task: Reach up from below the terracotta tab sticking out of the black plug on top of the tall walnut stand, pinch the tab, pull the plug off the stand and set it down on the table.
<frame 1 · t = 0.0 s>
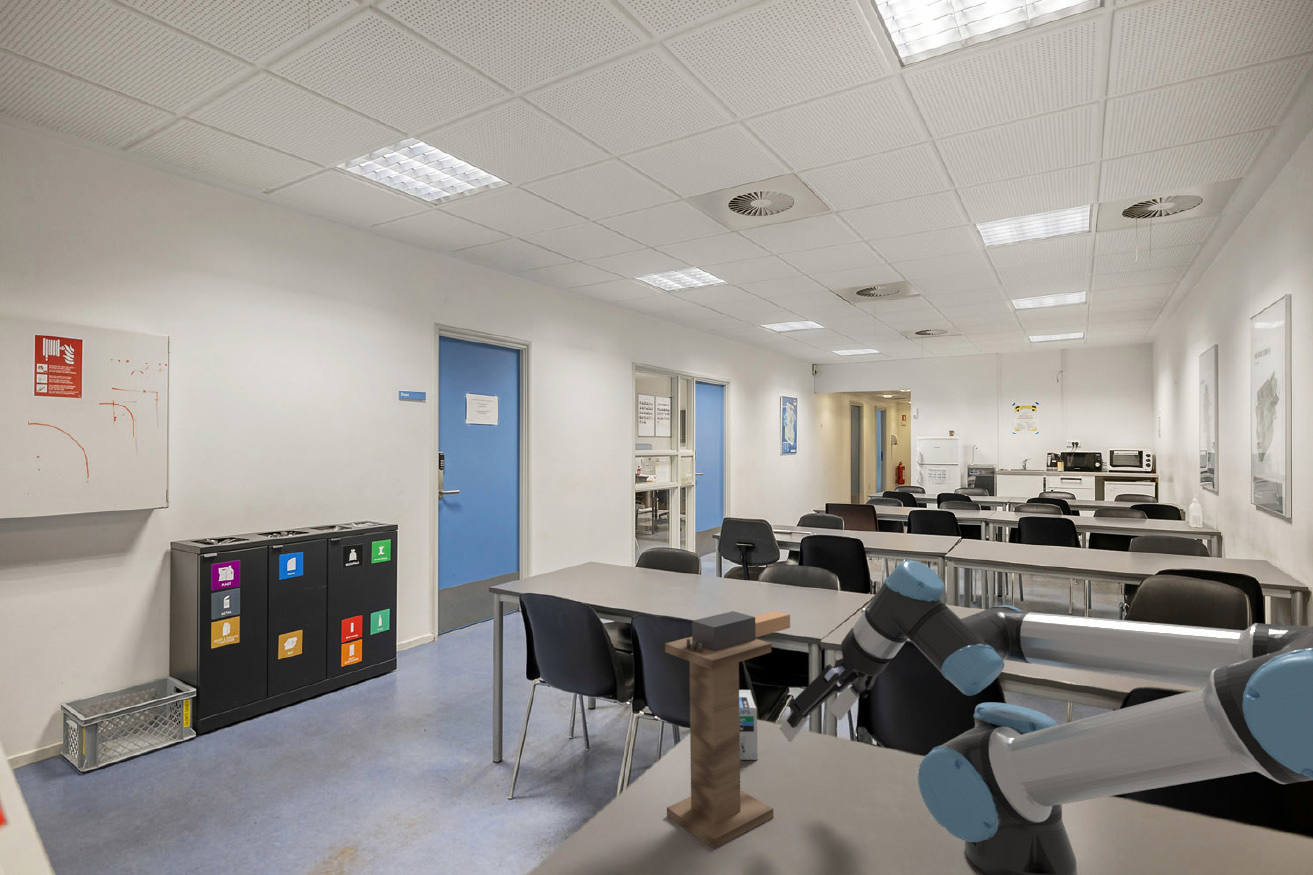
hand: (811, 723, 117), 15 cm above the table, tool tilted 35°, fingers open, 13 cm apart
stand: (720, 816, 115), on the table
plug: (724, 641, 117), point 30 cm above the table, touching stand
light bulb box: (739, 749, 141), on the table
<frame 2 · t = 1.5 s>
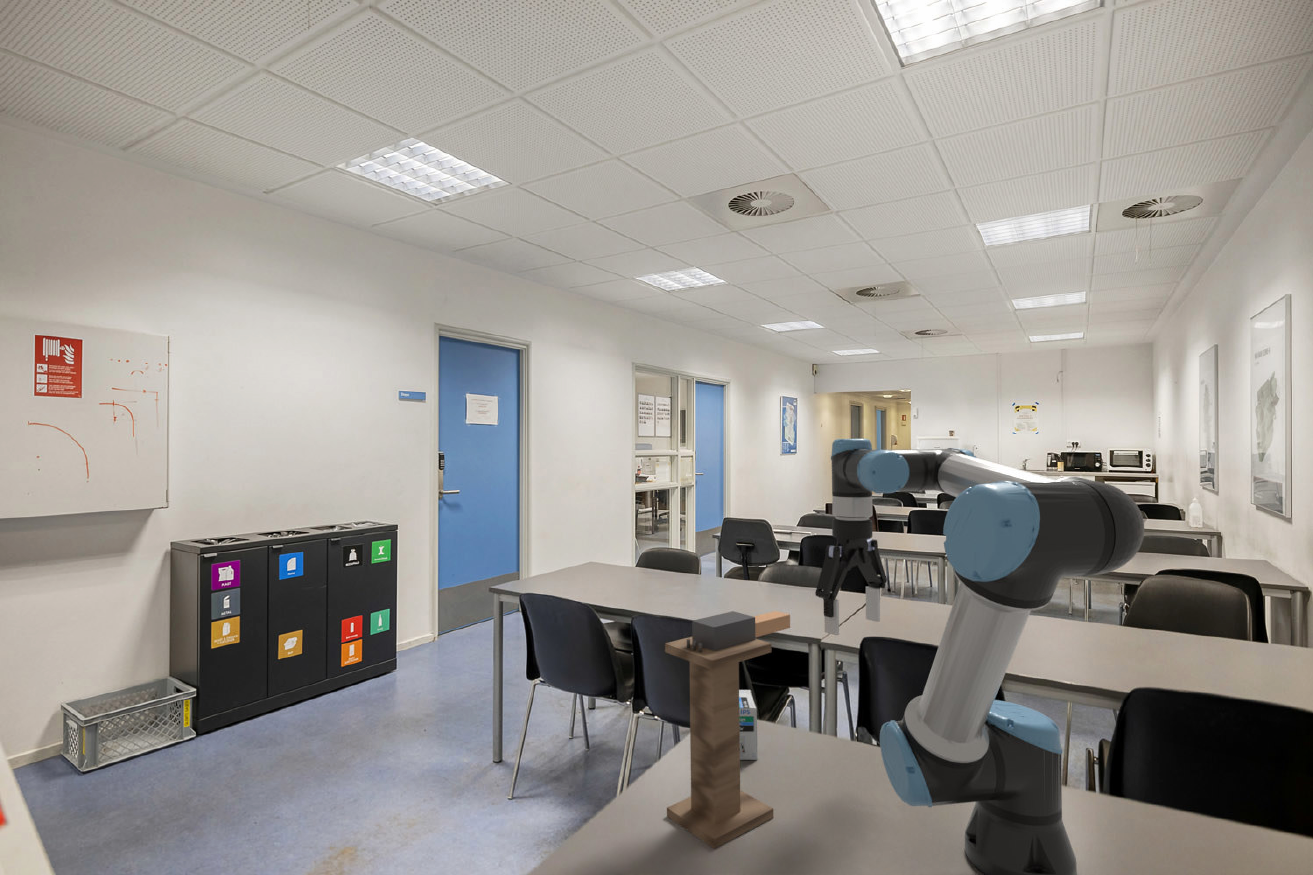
hand: (853, 626, 130), 29 cm above the table, tool pointing down, fingers open, 13 cm apart
nothing on the table moved.
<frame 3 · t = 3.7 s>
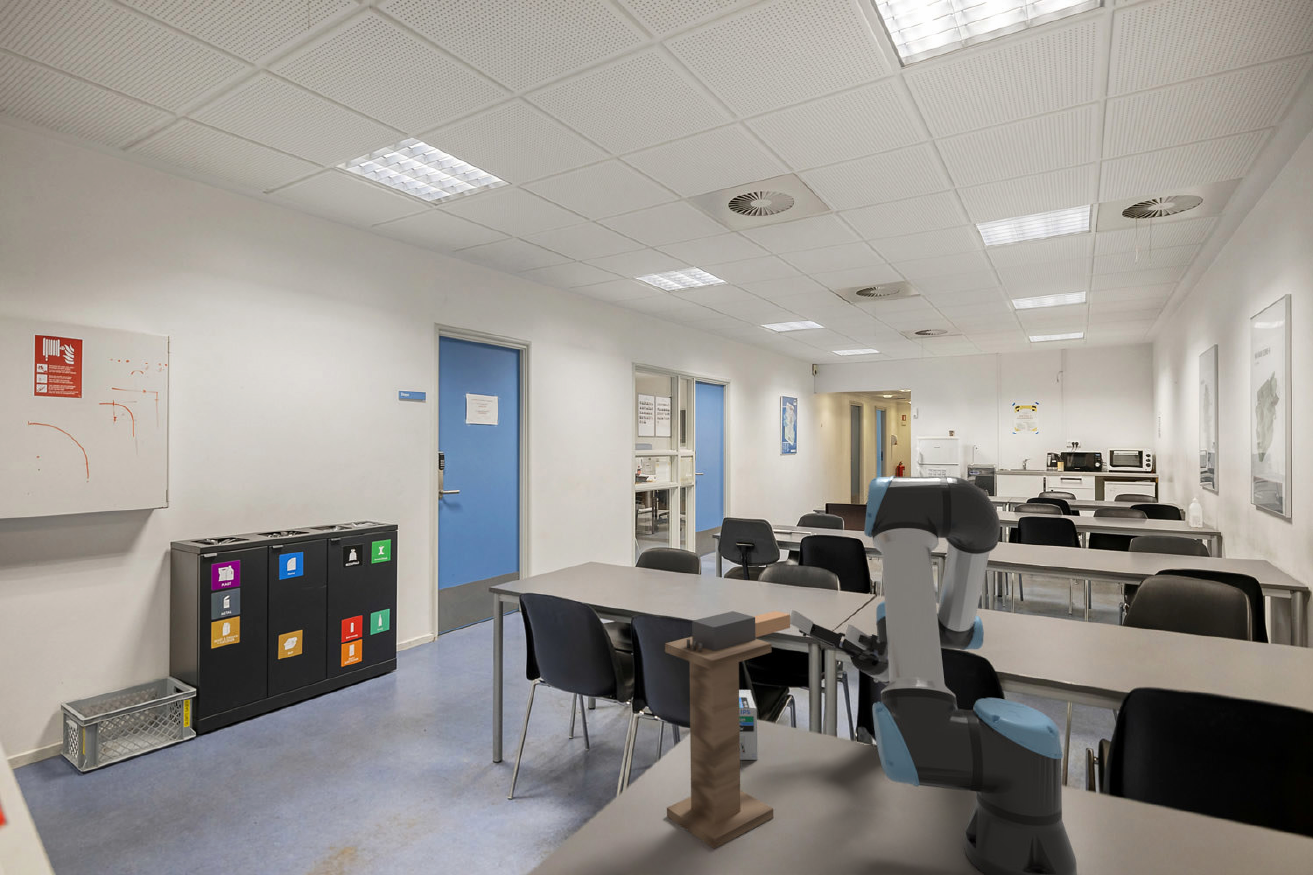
hand: (818, 623, 130), 29 cm above the table, tool pointing upward, fingers open, 13 cm apart
nothing on the table moved.
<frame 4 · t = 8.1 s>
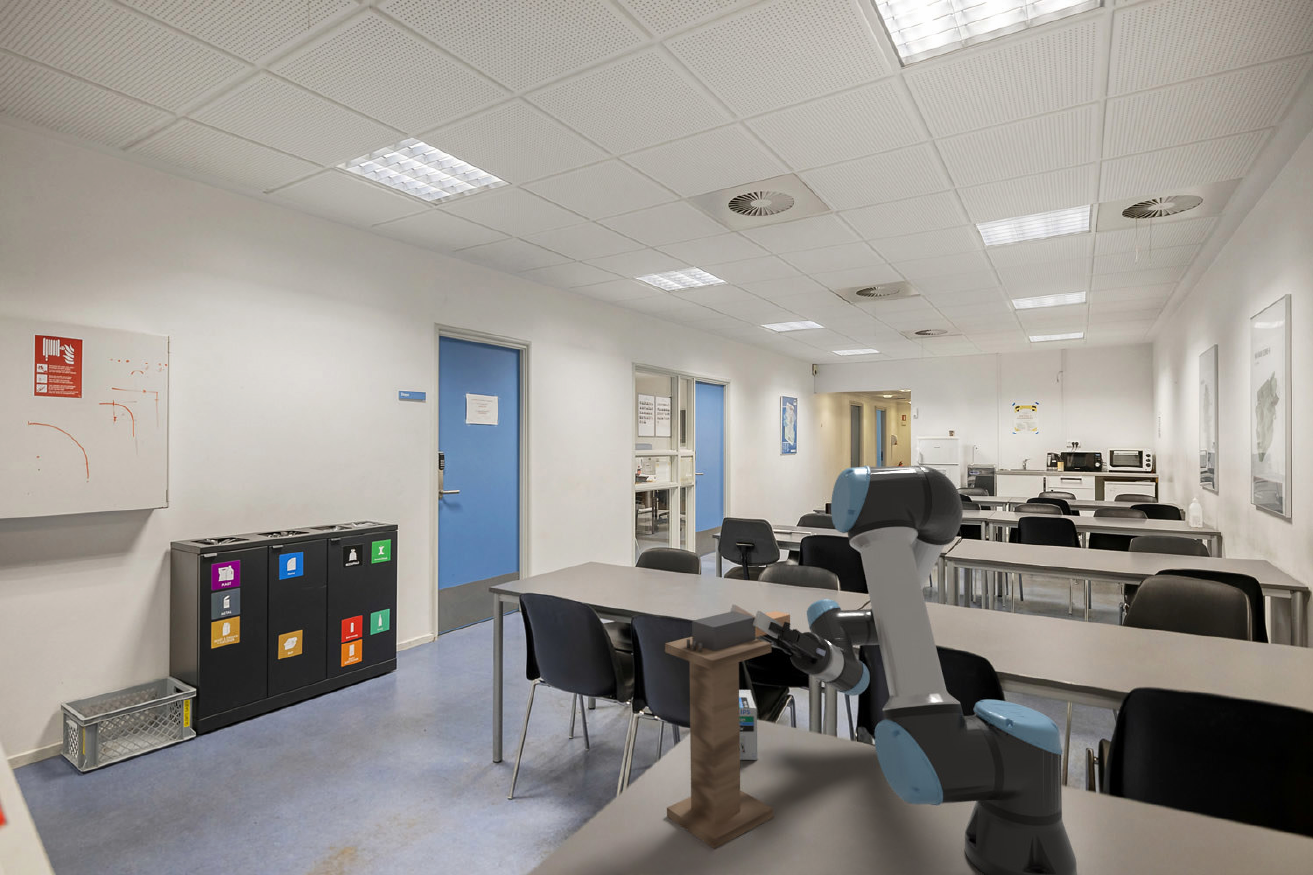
hand: (744, 614, 120), 34 cm above the table, tool pointing upward, fingers closed on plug, 5 cm apart
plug: (724, 641, 117), point 30 cm above the table, touching gripper, stand
everything else where it was.
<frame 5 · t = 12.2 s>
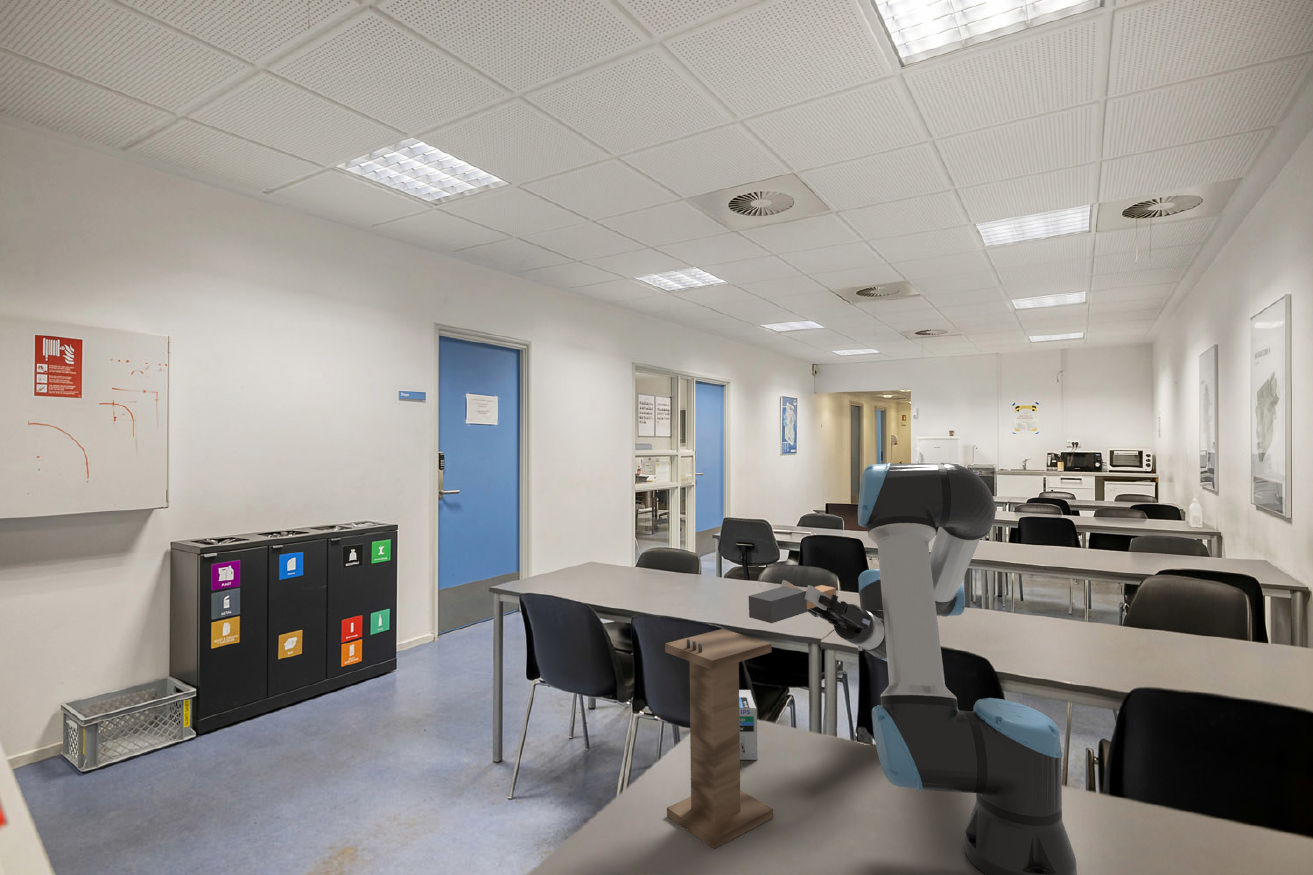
hand: (794, 589, 128), 36 cm above the table, tool pointing upward, fingers closed on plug, 5 cm apart
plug: (778, 614, 125), point 32 cm above the table, touching gripper
everything else where it was.
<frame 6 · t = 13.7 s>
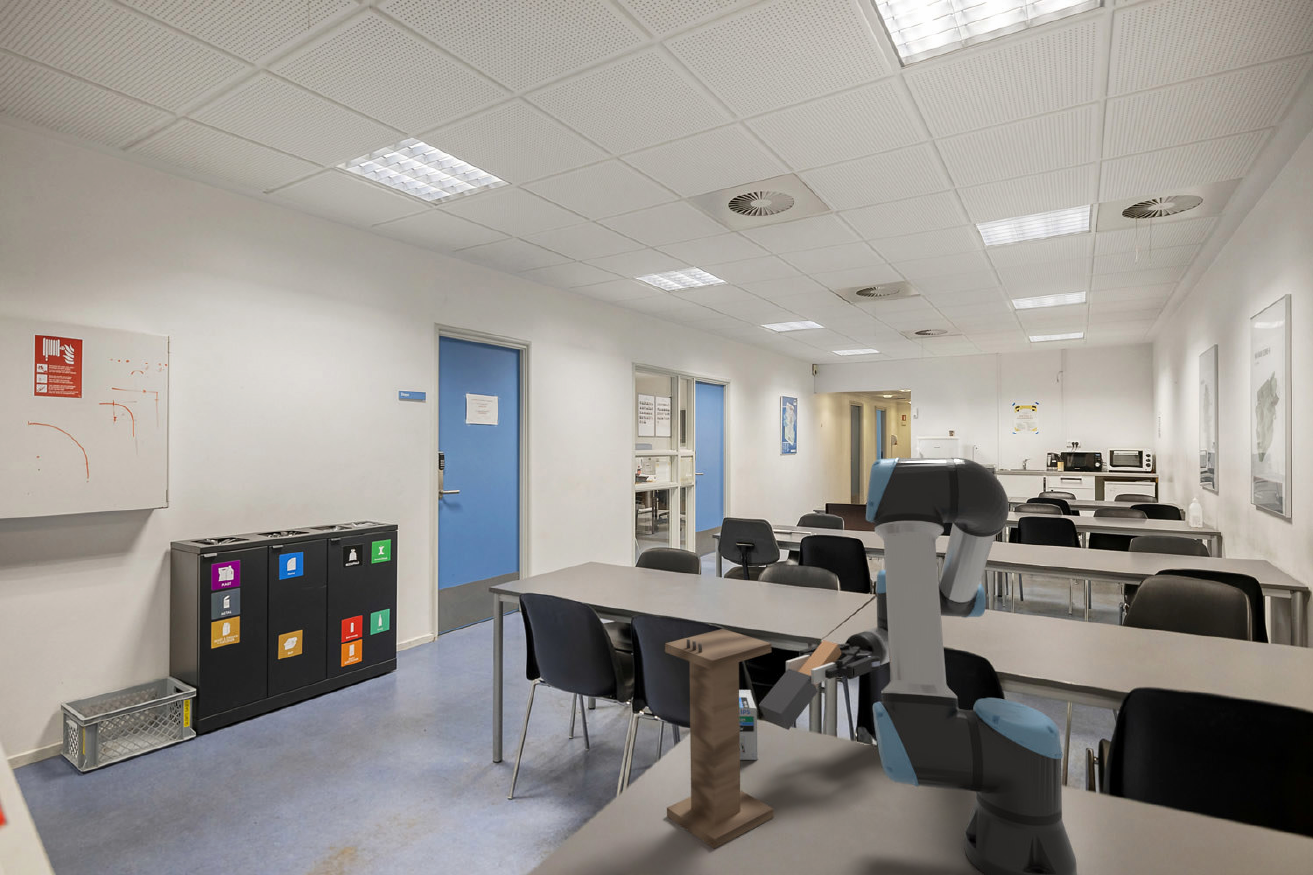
hand: (799, 672, 129), 20 cm above the table, tool horizontal, fingers closed on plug, 5 cm apart
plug: (791, 705, 127), point 14 cm above the table, tilted 30°, touching gripper
everything else where it was.
when the fingers open (9 cm above the table, at t = 16.2 s): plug drops 3 cm, on the table.
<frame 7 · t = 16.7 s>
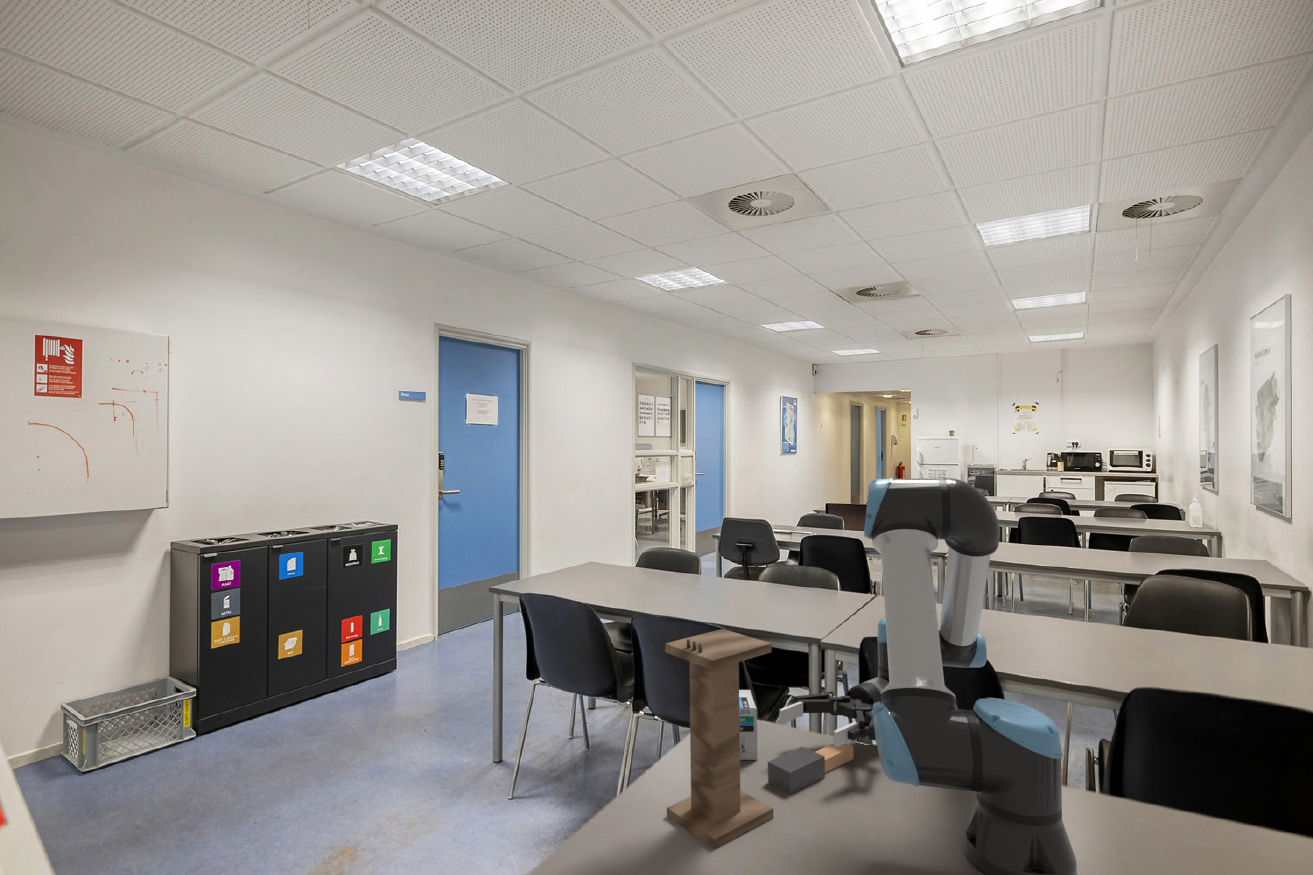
hand: (806, 727, 130), 9 cm above the table, tool horizontal, fingers open, 13 cm apart
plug: (796, 779, 128), on the table
everything else where it was.
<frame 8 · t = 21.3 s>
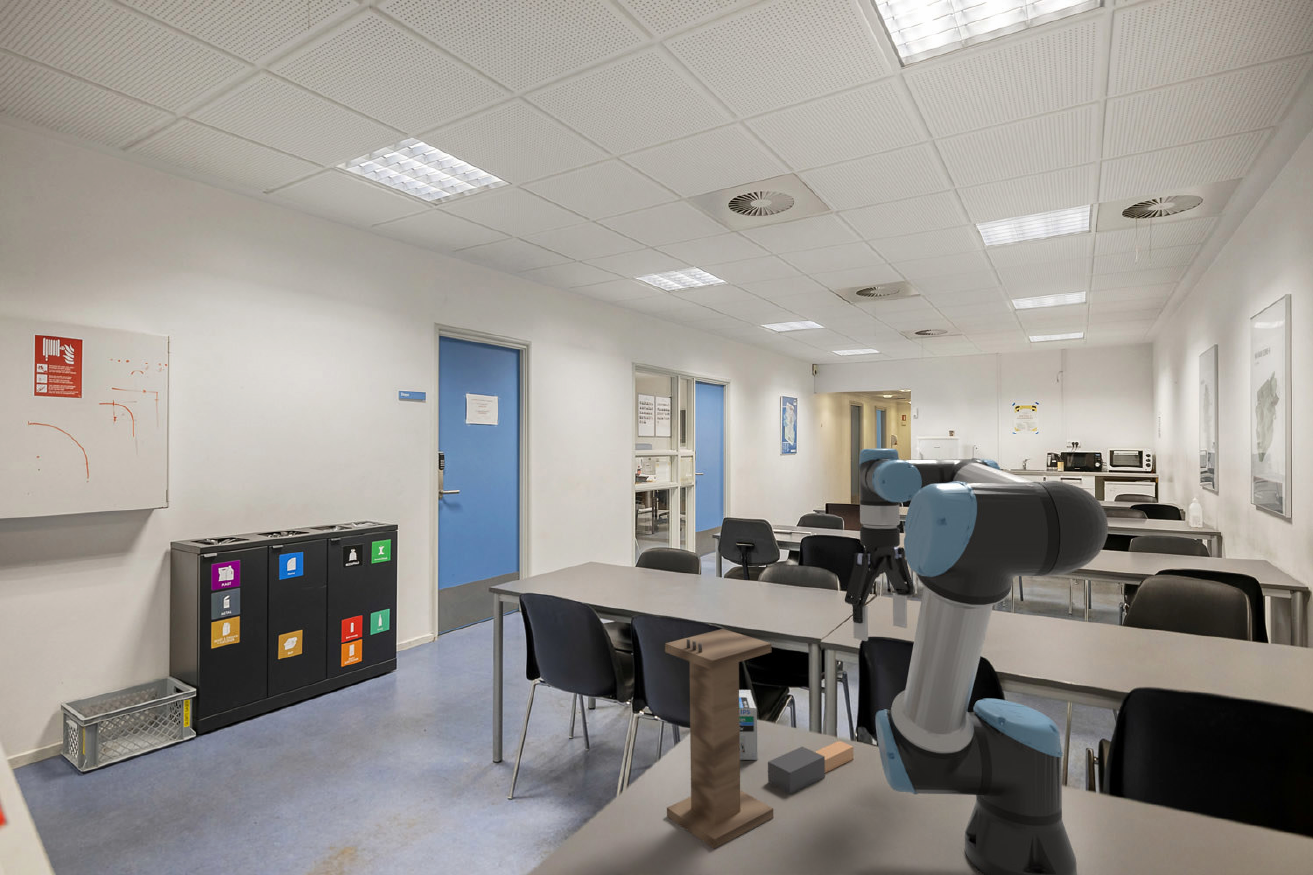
hand: (881, 632, 132), 27 cm above the table, tool pointing down, fingers open, 13 cm apart
nothing on the table moved.
at the end: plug touching table; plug on the table; the gripper is holding nothing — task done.
